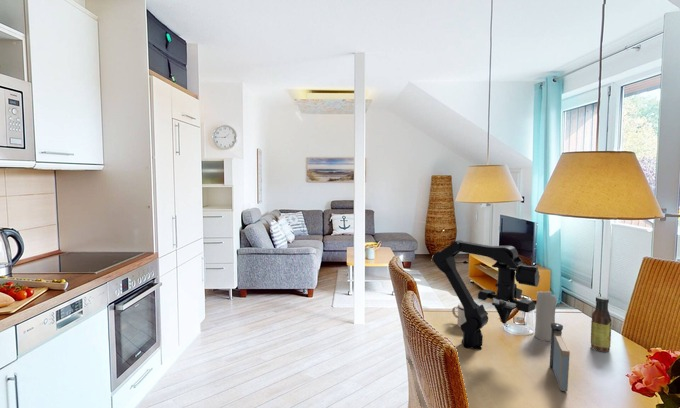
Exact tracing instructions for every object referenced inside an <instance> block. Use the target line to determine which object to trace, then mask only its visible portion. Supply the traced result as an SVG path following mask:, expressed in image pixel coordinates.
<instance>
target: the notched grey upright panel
mask: <svg viewBox="0 0 680 408" xmlns="http://www.w3.org/2000/svg"><path fill="white" fill-rule="evenodd" d="M557 301H558V299H557V297H556V295H555V294H554V295H553V294H552V291H549V290H548V291H542V290H540V291H537V292H536V303H535V327H534V337H535V338H536V339H538V340H540V341H547V342H551V329H552V328H551V323H556V320H555V319H556V307H557Z"/></svg>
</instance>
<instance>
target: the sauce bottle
mask: <svg viewBox="0 0 680 408" xmlns="http://www.w3.org/2000/svg"><path fill="white" fill-rule="evenodd" d="M609 301H610V299H609V298H608V297H605V296H596V297H595V309H594V310H593V312H592V313H591V322H590V323H591V324H590V347H591V349H593V350H595V351H597V352H603V353H608V352H610V349H611V343H612V342H611V341H612V339H611V338H612V318H611V315H610V312H609V309H608V307H609Z"/></svg>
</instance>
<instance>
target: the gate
mask: <svg viewBox="0 0 680 408" xmlns="http://www.w3.org/2000/svg"><path fill="white" fill-rule="evenodd" d="M570 353H571V352H570V349H569V348H568V345H567V343H566V342H565V340H564V338H563V335H562V334H556V333H554V354H553V369H552V370H553V372H554V376H555V378H556V381H557V384H558V389H559V390H560V391H563V392H568V390H569V389H568V388H569V371H570V370H569V369H570V355H571V354H570Z"/></svg>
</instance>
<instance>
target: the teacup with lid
mask: <svg viewBox="0 0 680 408" xmlns="http://www.w3.org/2000/svg"><path fill="white" fill-rule="evenodd" d="M456 309H457V314H456V311H455V310H456ZM451 312H452V315H453V316H454V318H456V319H457V324H456V325H457V326H458V327H459V328H460V329H461V325H462V324H463V323H465V322H466V318H465V314H464V307H463V305H462V304H461V302H460V303H458V305H457V306H454V307H452V311H451Z"/></svg>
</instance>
